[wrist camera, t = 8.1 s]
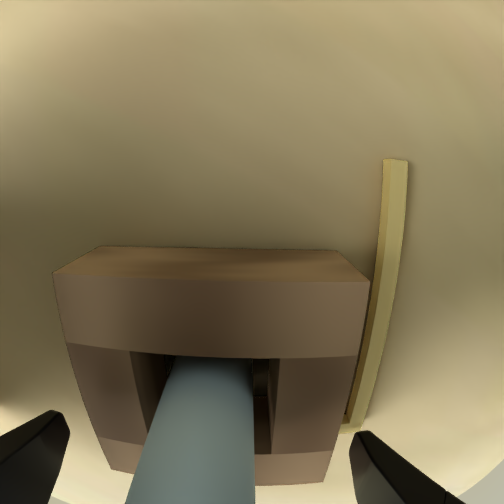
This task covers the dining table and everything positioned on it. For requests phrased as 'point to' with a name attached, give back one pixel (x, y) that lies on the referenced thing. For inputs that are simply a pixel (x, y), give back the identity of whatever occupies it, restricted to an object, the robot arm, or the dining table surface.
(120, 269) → the brown square frame
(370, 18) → the dining table surface
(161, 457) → the light blue cylinder
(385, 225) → the lace
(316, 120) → the dining table surface
